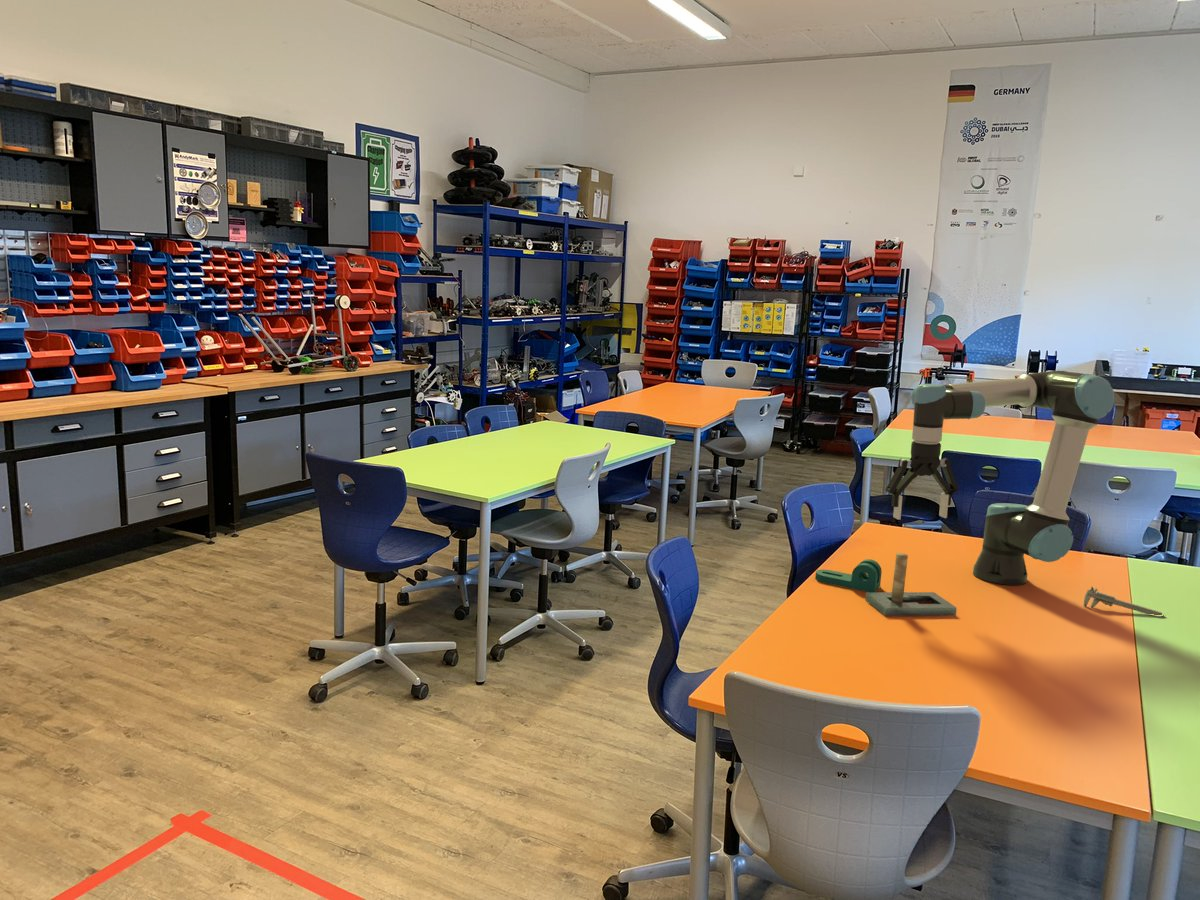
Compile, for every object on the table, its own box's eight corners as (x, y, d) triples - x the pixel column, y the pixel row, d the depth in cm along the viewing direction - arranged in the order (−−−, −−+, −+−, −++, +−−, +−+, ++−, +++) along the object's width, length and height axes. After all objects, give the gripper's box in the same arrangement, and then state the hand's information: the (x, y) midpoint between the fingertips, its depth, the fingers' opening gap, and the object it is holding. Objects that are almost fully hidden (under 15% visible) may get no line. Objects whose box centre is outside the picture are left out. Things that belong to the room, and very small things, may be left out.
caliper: (1083, 608, 245) (1087, 586, 244) (1083, 606, 246) (1086, 585, 245) (1166, 618, 240) (1170, 597, 239) (1165, 617, 241) (1169, 595, 240)
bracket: (879, 587, 255) (882, 561, 253) (874, 594, 249) (877, 567, 247) (819, 575, 264) (821, 550, 262) (812, 581, 258) (814, 555, 256)
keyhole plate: (933, 599, 246) (933, 592, 245) (955, 615, 234) (956, 607, 234) (865, 600, 243) (866, 592, 242) (885, 616, 231) (885, 608, 231)
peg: (900, 604, 240) (906, 552, 238) (908, 610, 236) (914, 557, 233) (883, 604, 240) (889, 551, 237) (891, 611, 235) (897, 557, 232)
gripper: (961, 438, 242) (954, 512, 246) (876, 439, 238) (871, 515, 242) (976, 443, 235) (969, 519, 239) (889, 444, 231) (883, 522, 235)
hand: (919, 517), depth 241 cm, fingers open, 13 cm apart
